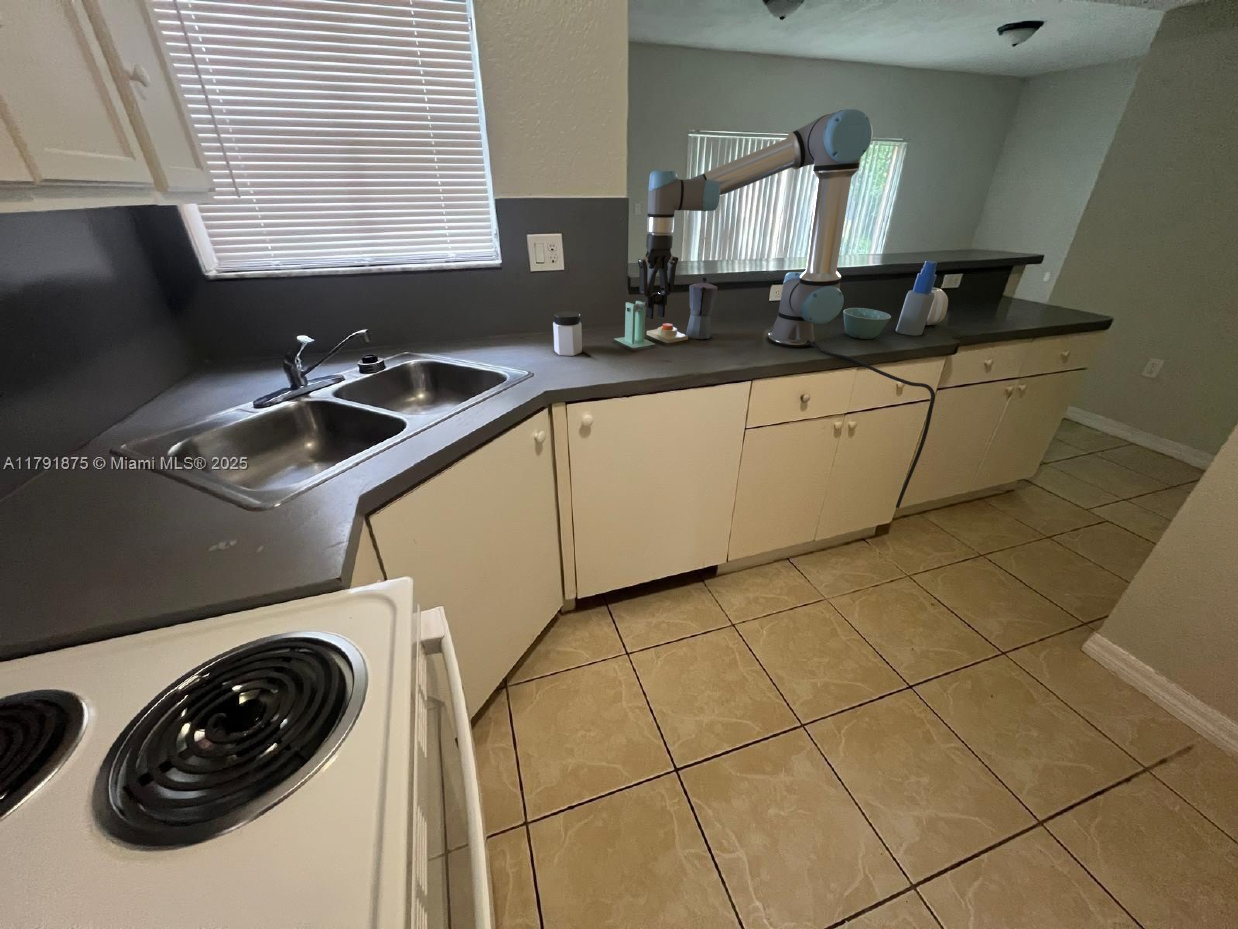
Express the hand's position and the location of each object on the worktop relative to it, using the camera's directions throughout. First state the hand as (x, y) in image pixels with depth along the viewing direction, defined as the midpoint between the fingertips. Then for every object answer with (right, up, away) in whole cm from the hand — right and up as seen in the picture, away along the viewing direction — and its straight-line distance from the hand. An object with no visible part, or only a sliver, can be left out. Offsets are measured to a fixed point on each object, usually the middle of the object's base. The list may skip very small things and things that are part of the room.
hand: (655, 316), depth 150 cm
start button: (+5, +1, +17) cm, 18 cm away
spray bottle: (+99, +4, +34) cm, 104 cm away
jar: (-28, -10, +6) cm, 30 cm away
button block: (+5, -2, +19) cm, 20 cm away
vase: (+111, +11, +46) cm, 121 cm away
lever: (-2, +3, +3) cm, 5 cm away
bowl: (+78, +1, +28) cm, 83 cm away
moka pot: (+17, -1, +23) cm, 29 cm away
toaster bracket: (-6, -5, +14) cm, 16 cm away
